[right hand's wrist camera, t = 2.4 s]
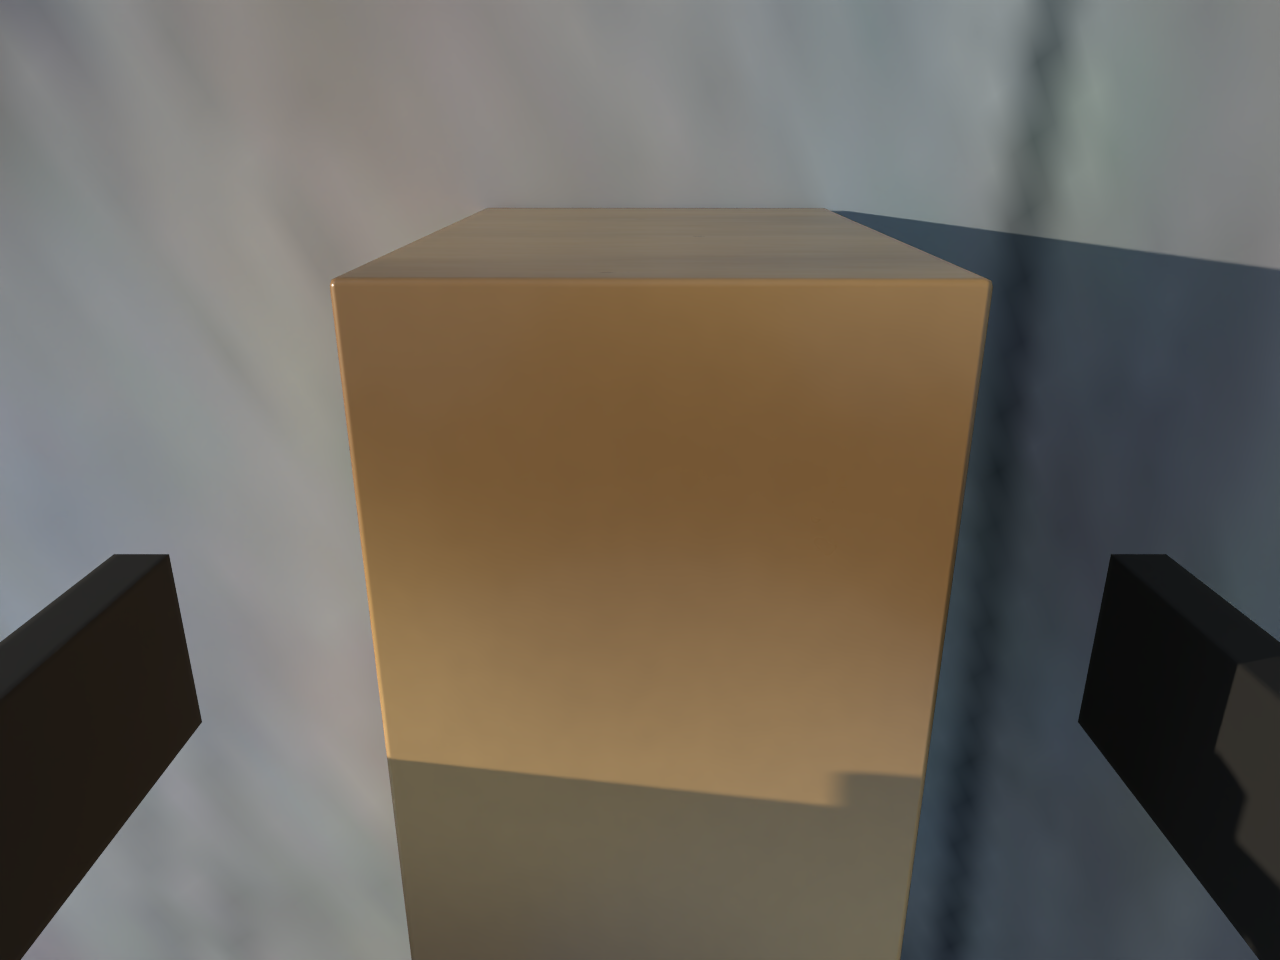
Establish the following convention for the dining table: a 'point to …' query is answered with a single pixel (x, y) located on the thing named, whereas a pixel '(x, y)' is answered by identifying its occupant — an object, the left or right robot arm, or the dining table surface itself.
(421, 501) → the bar
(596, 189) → the dining table surface
